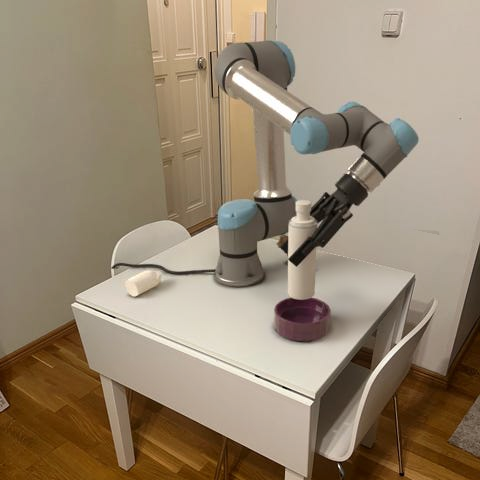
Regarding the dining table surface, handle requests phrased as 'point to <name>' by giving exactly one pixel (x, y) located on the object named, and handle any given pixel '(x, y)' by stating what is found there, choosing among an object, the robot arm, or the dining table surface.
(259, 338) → the dining table surface
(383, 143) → the robot arm
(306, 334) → the bowl
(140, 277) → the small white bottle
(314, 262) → the spray bottle
